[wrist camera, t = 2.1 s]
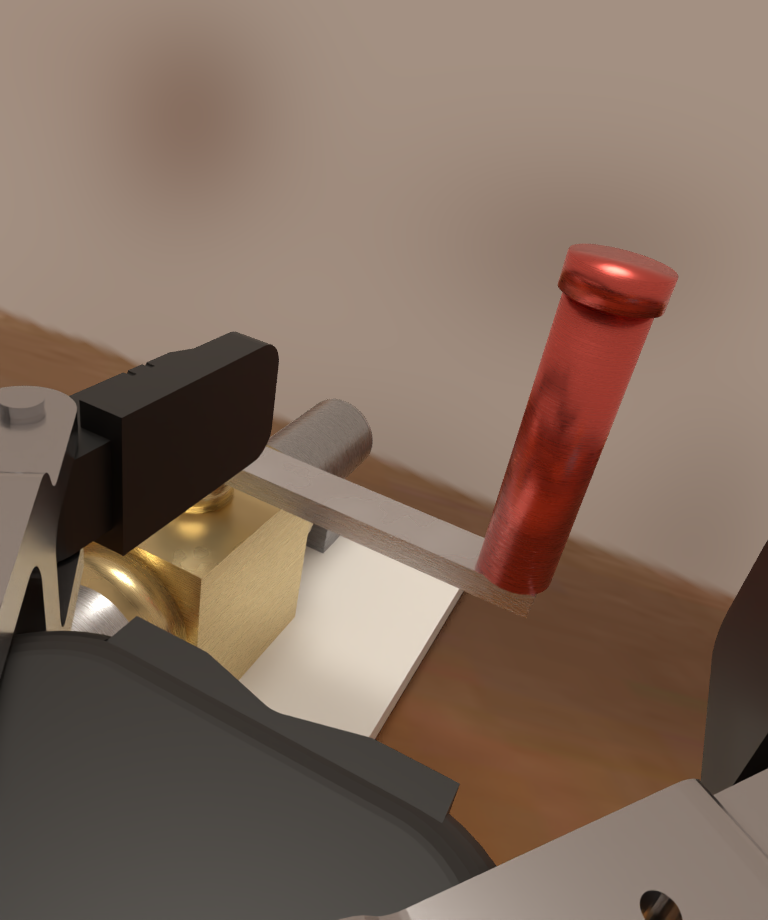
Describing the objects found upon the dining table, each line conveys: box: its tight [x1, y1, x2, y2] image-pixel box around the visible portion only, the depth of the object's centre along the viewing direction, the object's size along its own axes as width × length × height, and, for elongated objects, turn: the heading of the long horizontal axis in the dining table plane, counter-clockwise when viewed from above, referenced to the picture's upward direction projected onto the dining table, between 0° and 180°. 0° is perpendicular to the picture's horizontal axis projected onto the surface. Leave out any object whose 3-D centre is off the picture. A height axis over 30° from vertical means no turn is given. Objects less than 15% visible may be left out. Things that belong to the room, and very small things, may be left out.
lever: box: [224, 244, 678, 618], centre depth 25 cm, size 17×3×12 cm, turn 65°
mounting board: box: [239, 536, 463, 739], centre depth 36 cm, size 20×29×2 cm
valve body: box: [71, 399, 372, 680], centre depth 33 cm, size 7×28×10 cm, turn 155°
